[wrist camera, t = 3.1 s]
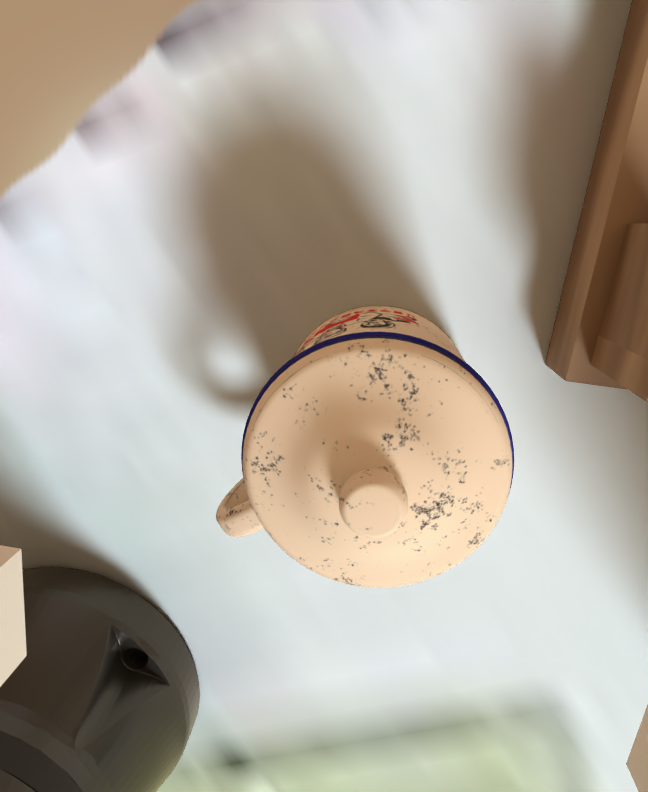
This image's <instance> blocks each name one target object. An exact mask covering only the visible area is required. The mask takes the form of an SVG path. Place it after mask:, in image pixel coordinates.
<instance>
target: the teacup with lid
mask: <svg viewBox="0 0 648 792" xmlns="http://www.w3.org/2000/svg"><path fill="white" fill-rule="evenodd" d="M241 459H242V471H243V477H244V478H243V479H241V480H240V481H239V482H238V483H237V484H236V485H235V486H234V487H233V488H232V489H231V491H230V492H229V493H228V494H227V495H226V496H225V498H224V499H223V501H222V502H221V504H220V505H219V507H218V510H217V513H216V519H217V522H218V524H219V525H220V526H221V528H222V529H223V530H224V532H225V533H226V534H228V535H229V536H233V537H241V536H246V535H249V534H252V533H254V532H257V531H259V530H261V529H263V528H264V529H265V530H266V532H267V533H268V534H269V535H270V537H271V538H272V539H273V540H274V541H275V542H276V543H277V544H278V546H279V547H280V548H281V549H282V550H284V551H285V552H286V553H287V554H288V555H289V556H290V557H292V558H293V559H295V560H296V561H297V562H299V563H300V564H302V565H303V566H305V567H306V568H308V569H310V570H312V571H314V572H316V573H318V574H320V575H322V576H324V577H327V578H329V579H332V580H335V581H338V582H342V583H345V584H350V585H355V586H363V587H377V588H383V587H397V586H404V585H409V584H413V583H418V582H421V581H424V580H427V579H430V578H432V577H434V576H437V575H439V574H441V573H443V572H445V571H447V570H449V569H451V568H452V567H454V566H455V565H457V564H458V563H460V562H461V561H463V560H464V559H465V558H466V557H468V556H469V555H470V554H471V553H472V552H473V551H474V550H476V549H477V548H478V547H479V546H480V545H481V543H482V542H483V541H484V540H485V539H486V538H487V536H488V535H489V534H490V532H491V531H492V529H493V528H494V526H495V525H496V523H497V521H498V519H499V518H500V516H501V514H502V511H503V509H504V507H505V504H506V501H507V498H508V495H509V491H510V488H511V484H512V478H513V470H514V448H513V442H512V435H511V432H510V428H509V424H508V421H507V419H506V416H505V413H504V411H503V409H502V407H501V405H500V403H499V401H498V399H497V398H496V396H495V395H494V393H493V391H492V390H491V388H490V387H489V386H488V385H487V383H486V382H485V381H484V380H483V379H482V377H481V376H480V375H479V374H478V373H477V372H476V371H475V370H474V369H473V368H472V367H470V366H469V365H468V364H467V363H466V362H465V361H464V359H463V358H462V356H461V354H460V353H459V351H458V350H457V348H456V347H455V345H454V344H453V342H452V341H451V340H450V339H449V337H448V336H447V335H446V334H445V333H444V332H443V331H442V330H441V329H439V328H438V327H437V326H436V325H435V324H433V323H432V322H430V321H429V320H427V319H425V318H424V317H422V316H420V315H418V314H415V313H413V312H410V311H407V310H404V309H400V308H395V307H389V306H367V307H360V308H355V309H351V310H348V311H345V312H343V313H340V314H338V315H336V316H334V317H332V318H330V319H328V320H327V321H325V322H324V323H323V324H321V325H320V326H319V327H317V328H316V329H315V330H314V331H313V332H312V333H311V334H310V335H309V336H308V337H307V338H306V339H305V341H304V342H303V343H302V345H301V346H300V347H299V349H298V350H297V352H296V353H295V355H294V356H293V358H292V359H291V360H289V361H288V362H287V363H286V364H285V365H283V366H282V367H281V368H280V369H279V370H278V371H277V372H276V373H275V374H274V375H273V376H272V377H271V378H270V380H269V381H268V382H267V384H266V385H265V386H264V387H263V389H262V390H261V392H260V394H259V395H258V397H257V398H256V400H255V402H254V404H253V407H252V409H251V411H250V414H249V416H248V419H247V422H246V426H245V430H244V434H243V441H242V457H241Z"/></svg>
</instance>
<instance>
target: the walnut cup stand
mask: <svg viewBox="0 0 648 792" xmlns="http://www.w3.org/2000/svg"><path fill="white" fill-rule="evenodd" d="M545 364H546V365H547V366H548V367H550V368H551V369H552V370H553V371H554V372H555V373H557V374H558V375H559V376H560V377H561V378H563V379H564V380H565V381H570V382H577V383H585V384H592V385H599V386H607V387H614V388H622V389H629V390H630V391H632V392H633V393H635V394H636V395H638V396H639V397H641V398H642V399H644V400H645V401H648V0H632V4H631V9H630V13H629V17H628V21H627V25H626V29H625V34H624V38H623V42H622V46H621V50H620V54H619V58H618V63H617V67H616V71H615V75H614V79H613V83H612V88H611V92H610V96H609V100H608V104H607V108H606V113H605V117H604V121H603V125H602V129H601V133H600V138H599V142H598V146H597V150H596V154H595V158H594V162H593V167H592V171H591V175H590V179H589V183H588V187H587V192H586V196H585V200H584V204H583V208H582V212H581V217H580V221H579V225H578V229H577V233H576V237H575V241H574V246H573V250H572V254H571V258H570V262H569V266H568V271H567V275H566V279H565V283H564V287H563V291H562V296H561V300H560V304H559V308H558V312H557V316H556V321H555V325H554V329H553V333H552V337H551V341H550V345H549V350H548V354H547V358H546V362H545Z"/></svg>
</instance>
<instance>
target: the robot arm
mask: <svg viewBox="0 0 648 792" xmlns="http://www.w3.org/2000/svg"><path fill="white" fill-rule="evenodd" d="M199 698H200V691H199V681H198V675H197V671H196V668H195V665H194V662H193V659H192V657H191V654H190V652H189V650H188V648H187V646H186V644H185V643H184V641H183V640H182V638H181V636H180V635H179V634H178V632H177V631H176V629H175V628H174V627H173V626H172V625H171V623H170V622H169V621H168V620H167V619H166V618H165V617H164V616H163V615H162V614H161V613H160V612H159V611H158V610H157V609H156V608H155V607H154V606H152V605H151V604H150V603H149V602H147V601H146V600H145V599H143V598H142V597H140V596H139V595H137V594H136V593H134V592H133V591H131V590H129V589H128V588H126V587H124V586H122V585H120V584H118V583H116V582H114V581H111V580H109V579H106V578H104V577H101V576H98V575H95V574H92V573H88V572H84V571H79V570H74V569H67V568H34V569H27V570H23V571H22V552H21V549H20V548H14V547H8V546H2V545H0V792H156V791H157V790H158V789H159V787H160V786H161V785H162V784H163V782H164V781H165V780H166V779H167V777H168V776H169V775H170V774H171V772H172V771H173V770H174V768H175V767H176V765H177V763H178V761H179V759H180V758H181V756H182V754H183V751H184V749H185V746H186V744H187V741H188V739H189V736H190V733H191V731H192V728H193V725H194V723H195V720H196V717H197V713H198V708H199ZM626 764H627V766H628V769H629V771H630V773H631V775H632V778H633V780H634V782H635V784H636V786H637V789H638V791H639V792H648V706H647V708H646V711H645V714H644V716H643V719H642V722H641V725H640V727H639V730H638V733H637V736H636V738H635V741H634V744H633V747H632V749H631V752H630V755H629V757H628V760H627V763H626Z"/></svg>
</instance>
